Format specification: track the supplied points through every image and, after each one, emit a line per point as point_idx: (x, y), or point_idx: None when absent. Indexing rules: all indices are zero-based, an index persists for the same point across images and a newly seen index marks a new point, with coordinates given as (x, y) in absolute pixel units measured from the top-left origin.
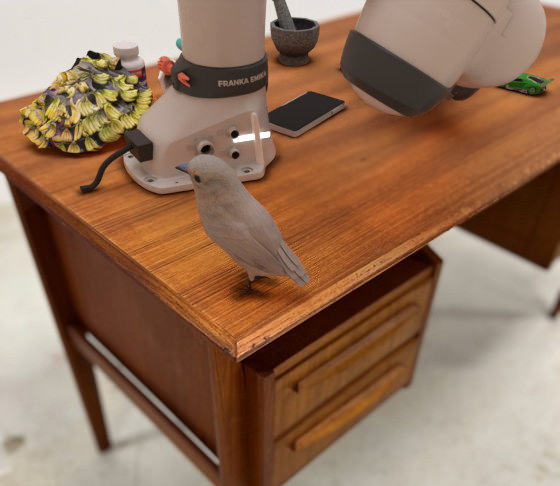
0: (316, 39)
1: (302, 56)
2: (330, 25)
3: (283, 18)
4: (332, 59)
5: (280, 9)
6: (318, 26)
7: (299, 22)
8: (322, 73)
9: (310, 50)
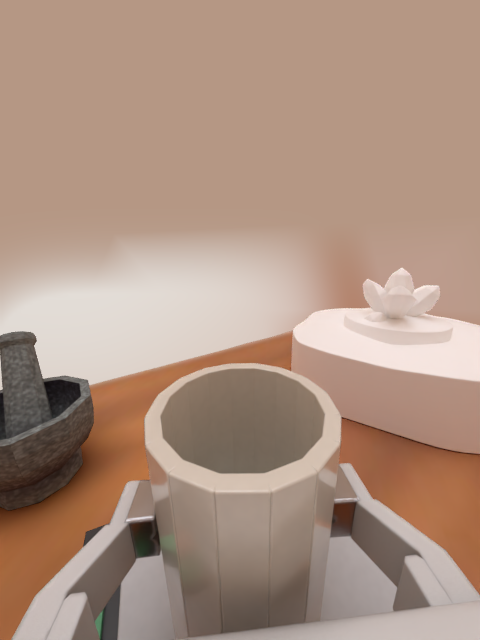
0: (58, 450)
1: (27, 487)
2: (214, 358)
3: (6, 390)
4: (133, 473)
5: (3, 370)
6: (55, 423)
7: (74, 388)
8: (9, 596)
9: (48, 473)
